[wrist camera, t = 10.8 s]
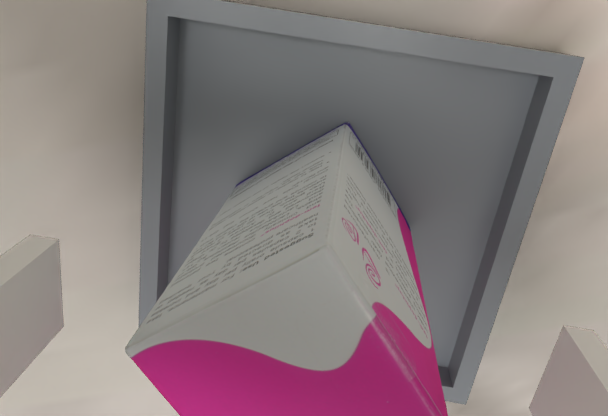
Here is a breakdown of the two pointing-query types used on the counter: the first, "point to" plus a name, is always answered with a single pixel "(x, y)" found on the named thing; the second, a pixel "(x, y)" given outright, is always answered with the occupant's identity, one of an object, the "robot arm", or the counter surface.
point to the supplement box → (298, 299)
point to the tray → (370, 130)
